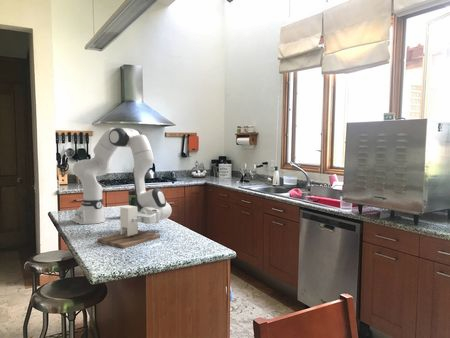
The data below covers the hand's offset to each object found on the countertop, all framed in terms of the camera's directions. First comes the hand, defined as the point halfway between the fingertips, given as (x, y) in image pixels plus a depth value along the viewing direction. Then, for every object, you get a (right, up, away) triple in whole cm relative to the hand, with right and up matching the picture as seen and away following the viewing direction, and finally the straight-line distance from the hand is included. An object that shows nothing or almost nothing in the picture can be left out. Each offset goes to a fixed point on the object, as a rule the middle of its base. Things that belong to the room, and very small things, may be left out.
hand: (127, 219), depth 187 cm
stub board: (0, -10, +2) cm, 11 cm away
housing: (0, -7, +1) cm, 8 cm away
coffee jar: (-10, -6, +57) cm, 58 cm away
